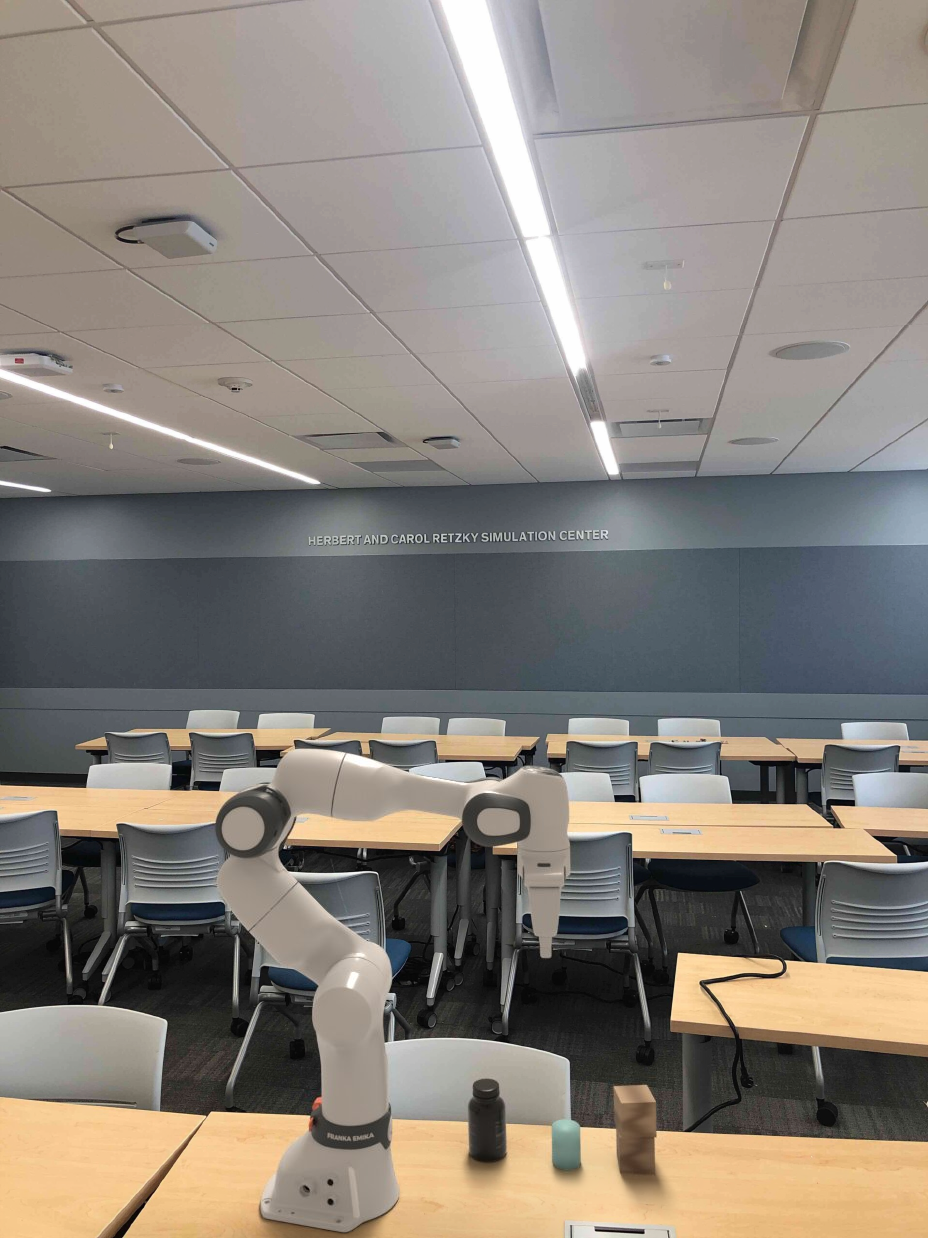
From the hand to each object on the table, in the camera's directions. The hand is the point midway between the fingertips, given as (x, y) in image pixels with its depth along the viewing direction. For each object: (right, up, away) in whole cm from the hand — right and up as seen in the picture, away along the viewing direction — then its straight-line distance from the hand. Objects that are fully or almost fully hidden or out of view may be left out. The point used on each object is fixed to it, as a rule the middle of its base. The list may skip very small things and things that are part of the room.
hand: (545, 947), depth 149 cm
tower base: (+16, -40, +6) cm, 44 cm away
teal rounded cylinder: (+4, -40, +7) cm, 41 cm away
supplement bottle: (-10, -41, +10) cm, 43 cm away
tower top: (+16, -34, +6) cm, 38 cm away
